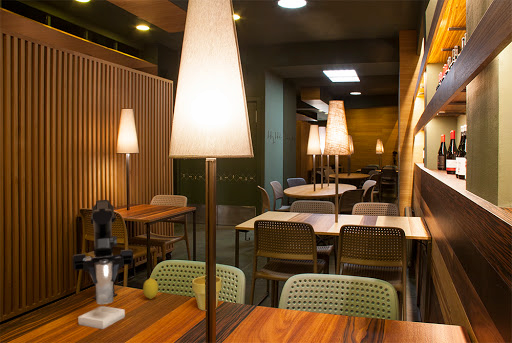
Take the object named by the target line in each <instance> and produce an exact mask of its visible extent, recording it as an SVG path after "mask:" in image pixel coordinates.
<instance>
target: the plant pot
mask: <svg viewBox="0 0 512 343" xmlns="http://www.w3.org/2000/svg"><path fill="white" fill-rule="evenodd" d="M205 276H206V275H204V276H198V277H195V278H193V279H192V281H191V288H192V292H193V293H194V296H195V300H196V303H197V307H198V309H199V310H201V311H206V310H205ZM215 276H216V275H215ZM222 284H223V283H222V278H221V277H219V276H218V275H217V276H216V308H218V303H219V298H220V293H221V292H220V291H221V290H222V288H223V287H222V286H223V285H222ZM216 308H215V309H216Z"/></svg>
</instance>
